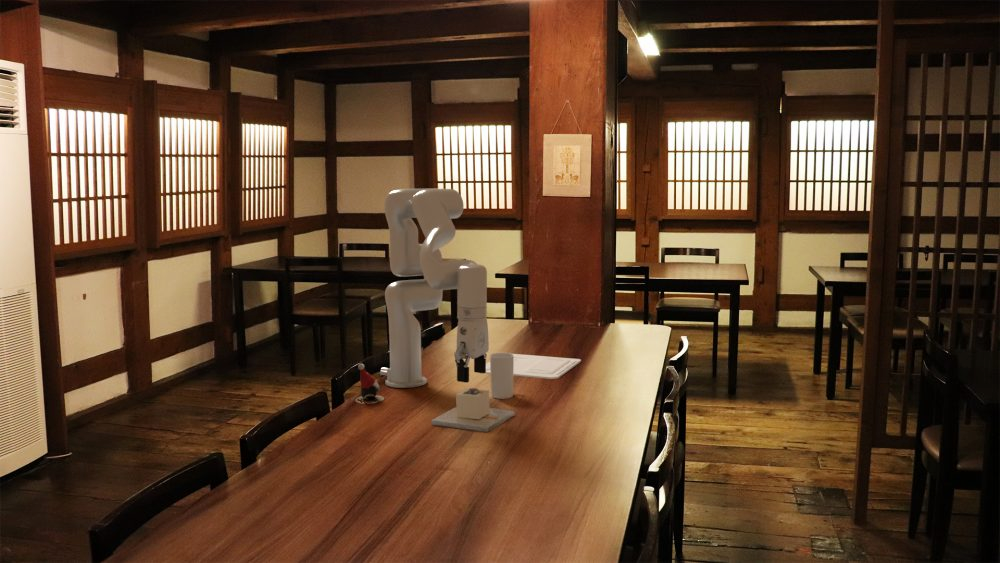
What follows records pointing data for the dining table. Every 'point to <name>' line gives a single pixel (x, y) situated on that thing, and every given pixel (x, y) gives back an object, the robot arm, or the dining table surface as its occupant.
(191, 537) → the dining table surface
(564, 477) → the dining table surface
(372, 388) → the figurine
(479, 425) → the square peg base
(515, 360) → the tray
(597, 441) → the dining table surface
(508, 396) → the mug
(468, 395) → the hollow square tube
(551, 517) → the dining table surface
